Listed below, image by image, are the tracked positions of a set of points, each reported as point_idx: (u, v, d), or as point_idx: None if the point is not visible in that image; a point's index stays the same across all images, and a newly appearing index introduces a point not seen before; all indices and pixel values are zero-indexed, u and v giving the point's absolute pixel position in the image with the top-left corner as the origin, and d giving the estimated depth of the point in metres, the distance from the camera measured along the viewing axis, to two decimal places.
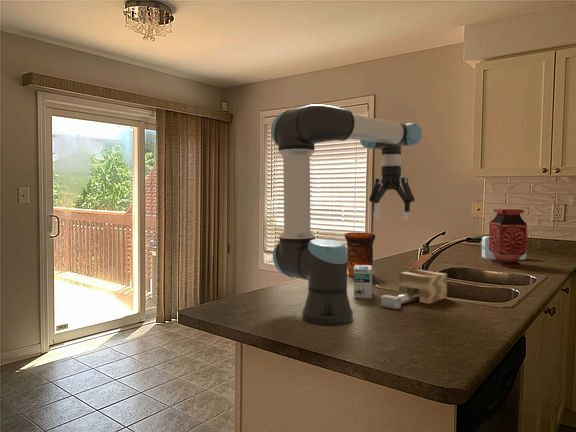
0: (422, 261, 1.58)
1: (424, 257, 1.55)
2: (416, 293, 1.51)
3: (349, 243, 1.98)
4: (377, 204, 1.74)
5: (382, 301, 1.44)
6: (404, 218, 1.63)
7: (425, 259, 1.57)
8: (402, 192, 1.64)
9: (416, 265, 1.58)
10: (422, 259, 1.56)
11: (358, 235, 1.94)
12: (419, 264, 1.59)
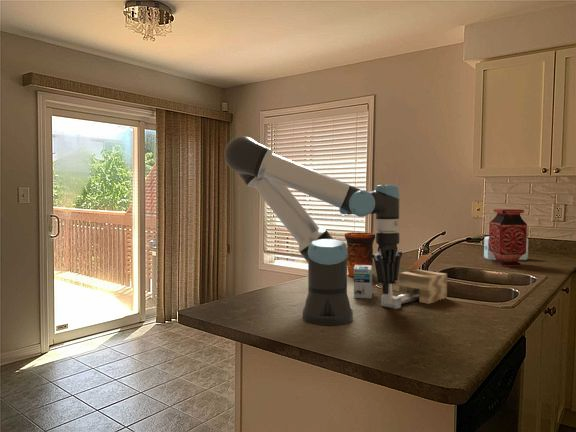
0: (422, 261, 1.58)
1: (424, 257, 1.55)
2: (416, 293, 1.51)
3: (349, 243, 1.98)
4: None
5: (382, 301, 1.44)
6: (384, 300, 1.41)
7: (425, 259, 1.57)
8: (383, 269, 1.40)
9: (416, 265, 1.58)
10: (422, 259, 1.56)
11: (358, 235, 1.94)
12: (419, 264, 1.59)
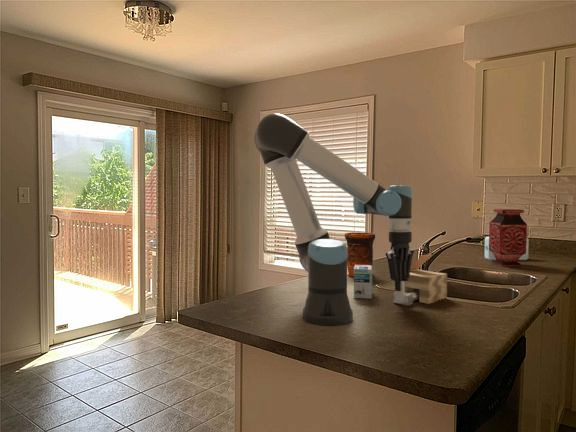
0: (422, 261, 1.58)
1: (424, 257, 1.55)
2: None
3: (349, 243, 1.98)
4: None
5: (394, 298, 1.48)
6: (396, 297, 1.46)
7: (425, 259, 1.57)
8: None
9: (416, 265, 1.58)
10: (422, 259, 1.56)
11: (358, 235, 1.94)
12: (419, 264, 1.59)
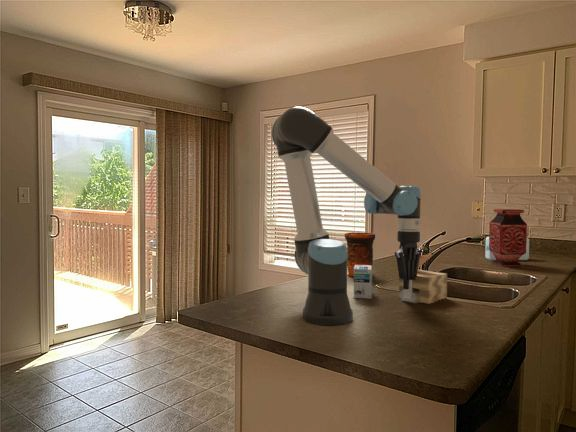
0: (422, 261, 1.58)
1: (424, 257, 1.55)
2: None
3: (349, 243, 1.98)
4: None
5: (402, 296, 1.51)
6: (404, 295, 1.49)
7: (425, 259, 1.57)
8: None
9: None
10: (422, 259, 1.56)
11: (358, 235, 1.94)
12: (419, 264, 1.59)
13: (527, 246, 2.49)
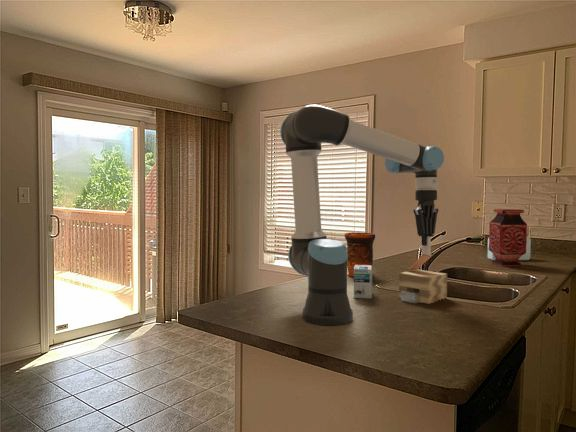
0: (422, 261, 1.58)
1: (424, 257, 1.55)
2: None
3: (349, 243, 1.98)
4: None
5: (402, 296, 1.51)
6: (423, 252, 1.56)
7: (425, 259, 1.57)
8: None
9: (416, 265, 1.58)
10: (422, 259, 1.56)
11: (358, 235, 1.94)
12: (419, 264, 1.59)
13: (529, 246, 2.49)
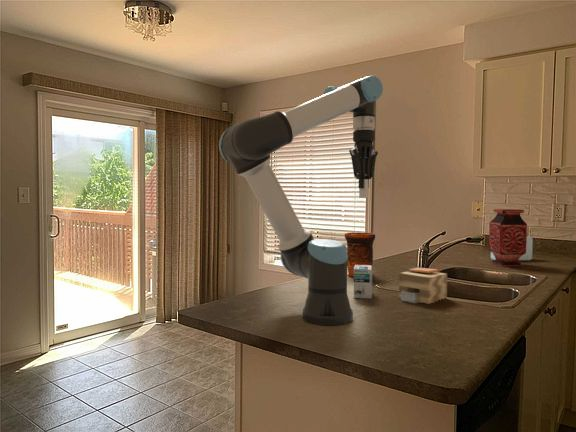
0: None
1: None
2: None
3: (349, 243, 1.98)
4: None
5: (402, 296, 1.51)
6: (360, 195, 1.51)
7: None
8: (359, 165, 1.49)
9: None
10: None
11: (358, 235, 1.94)
12: None
13: (530, 246, 2.48)
